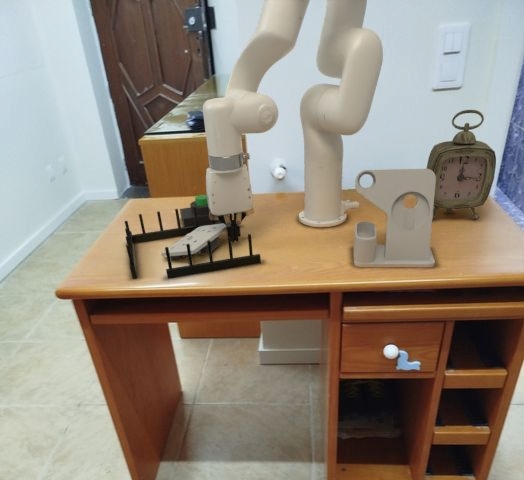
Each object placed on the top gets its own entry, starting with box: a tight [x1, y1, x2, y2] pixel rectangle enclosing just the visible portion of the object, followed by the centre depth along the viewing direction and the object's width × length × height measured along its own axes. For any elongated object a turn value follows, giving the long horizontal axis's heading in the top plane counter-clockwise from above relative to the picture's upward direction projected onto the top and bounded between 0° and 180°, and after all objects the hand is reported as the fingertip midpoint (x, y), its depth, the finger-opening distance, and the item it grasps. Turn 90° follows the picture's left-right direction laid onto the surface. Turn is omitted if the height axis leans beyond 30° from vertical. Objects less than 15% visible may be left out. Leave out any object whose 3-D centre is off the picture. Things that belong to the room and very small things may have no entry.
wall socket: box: [160, 223, 227, 260], centre depth 115 cm, size 18×15×4 cm
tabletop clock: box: [425, 109, 497, 221], centre depth 117 cm, size 14×9×25 cm, turn 83°
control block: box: [179, 200, 221, 227], centre depth 130 cm, size 12×8×5 cm, turn 104°
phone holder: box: [352, 168, 436, 268], centre depth 102 cm, size 17×10×18 cm, turn 82°
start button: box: [194, 194, 208, 206], centre depth 128 cm, size 4×4×2 cm
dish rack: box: [124, 206, 262, 280], centre depth 113 cm, size 28×24×7 cm
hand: (234, 239), depth 116 cm, fingers closed
